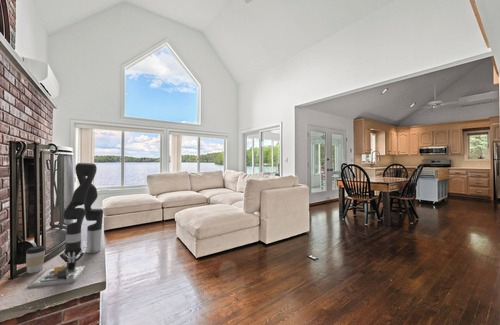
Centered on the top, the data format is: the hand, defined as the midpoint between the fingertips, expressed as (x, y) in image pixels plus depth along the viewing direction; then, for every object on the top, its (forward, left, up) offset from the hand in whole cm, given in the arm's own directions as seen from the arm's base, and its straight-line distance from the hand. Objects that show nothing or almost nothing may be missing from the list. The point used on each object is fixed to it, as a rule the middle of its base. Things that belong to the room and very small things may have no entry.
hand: (72, 268), depth 133 cm
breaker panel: (0, -6, -5) cm, 8 cm away
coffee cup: (-13, -24, -5) cm, 28 cm away
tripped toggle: (0, -6, -3) cm, 7 cm away
